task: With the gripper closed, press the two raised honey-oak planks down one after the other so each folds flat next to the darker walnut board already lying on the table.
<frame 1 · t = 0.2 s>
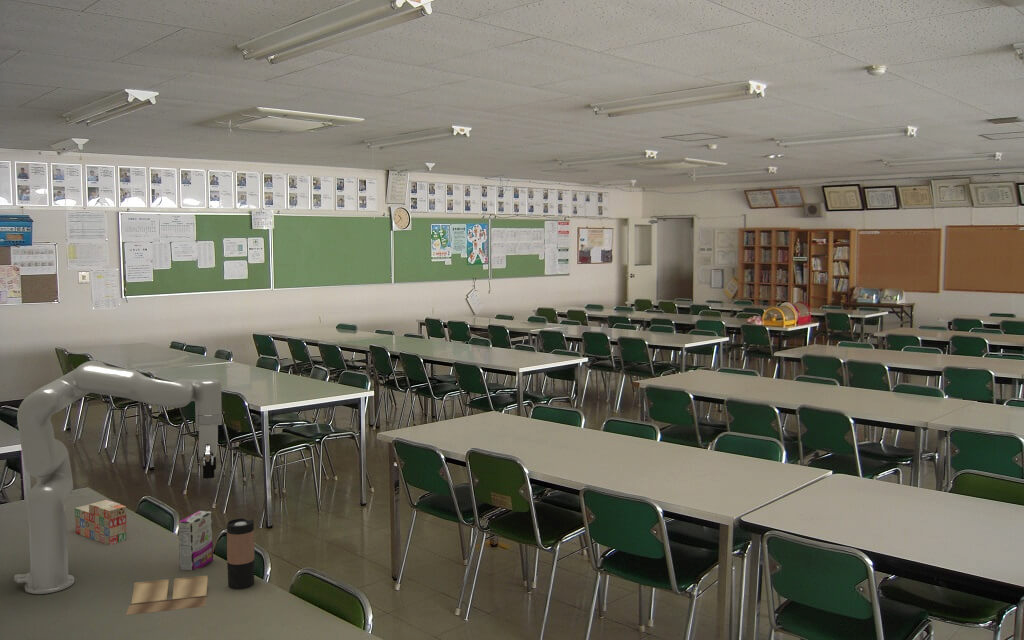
hand: (209, 473, 242), 31 cm above the table, tool pointing down, fingers open, 9 cm apart
plank b: (190, 588, 225), point 2 cm above the table, hinge at 30.0°
candy bar box: (196, 567, 247), on the table
stack of blocks: (100, 537, 273), on the table
travel mug: (241, 588, 231), on the table
laid board: (167, 609, 217), on the table
plank a: (150, 592, 222), point 2 cm above the table, hinge at 30.0°
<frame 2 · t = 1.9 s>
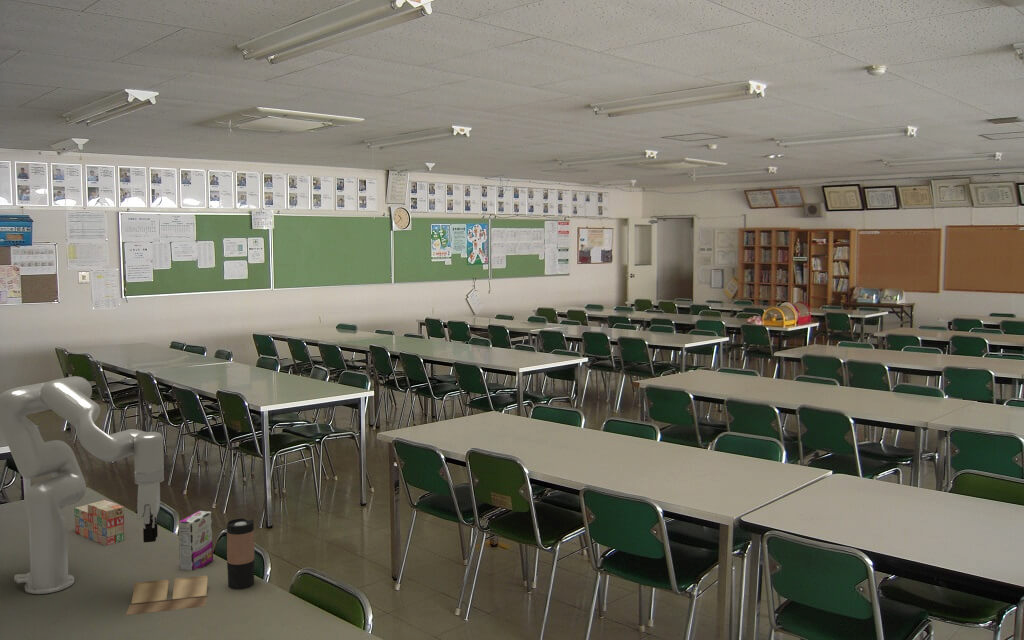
hand: (150, 539, 223), 17 cm above the table, tool pointing down, fingers closed
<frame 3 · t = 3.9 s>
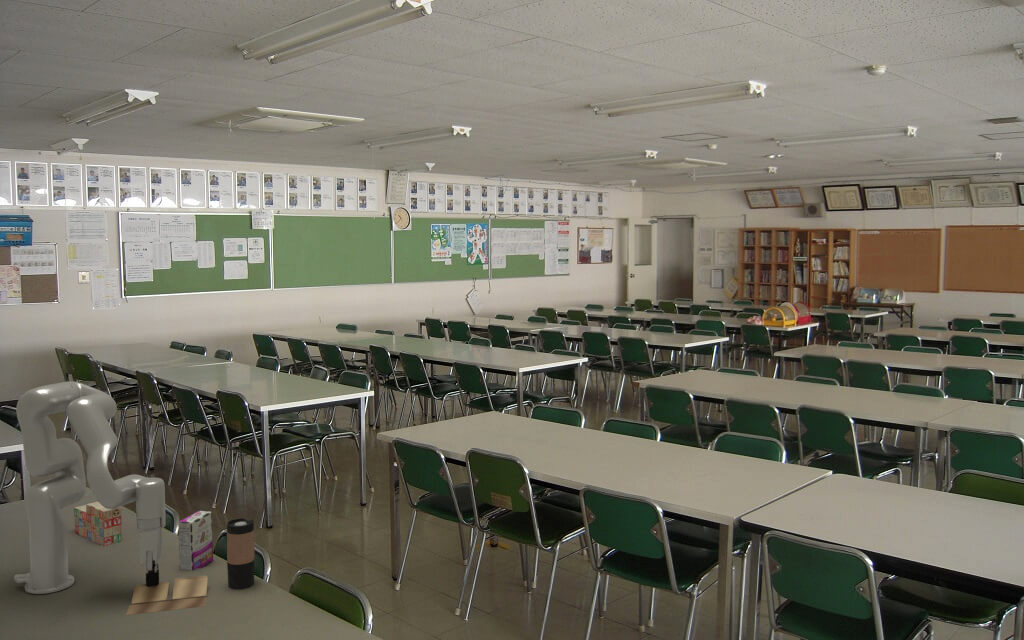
hand: (152, 584, 224), 4 cm above the table, tool pointing down, fingers closed
plank a: (150, 594, 222), point 2 cm above the table, hinge at 21.0°, touching gripper
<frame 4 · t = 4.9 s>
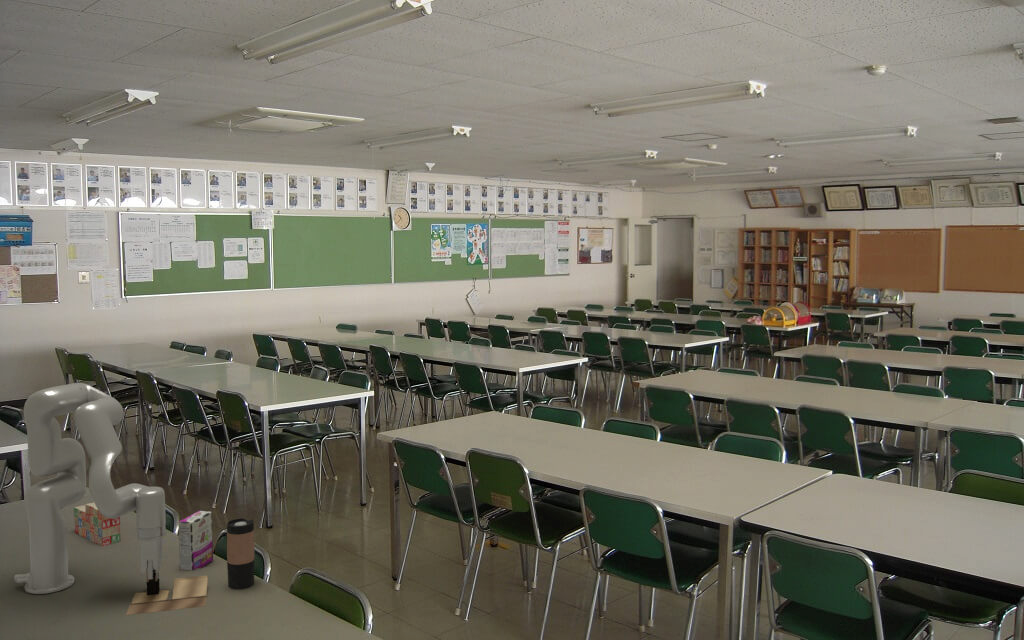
hand: (153, 593, 224), 1 cm above the table, tool pointing down, fingers closed
plank a: (150, 598, 222), point 1 cm above the table, hinge at 0.0°, touching gripper
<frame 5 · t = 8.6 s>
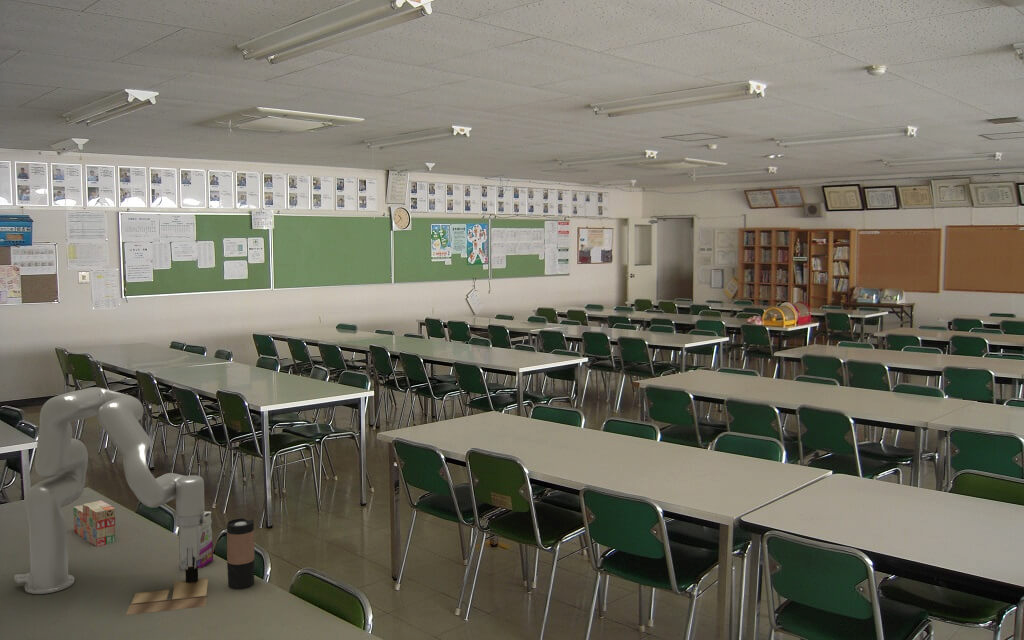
hand: (192, 580, 227), 4 cm above the table, tool pointing down, fingers closed
plank b: (190, 590, 225), point 2 cm above the table, hinge at 19.9°, touching gripper
plank a: (150, 598, 222), point 1 cm above the table, hinge at -0.4°
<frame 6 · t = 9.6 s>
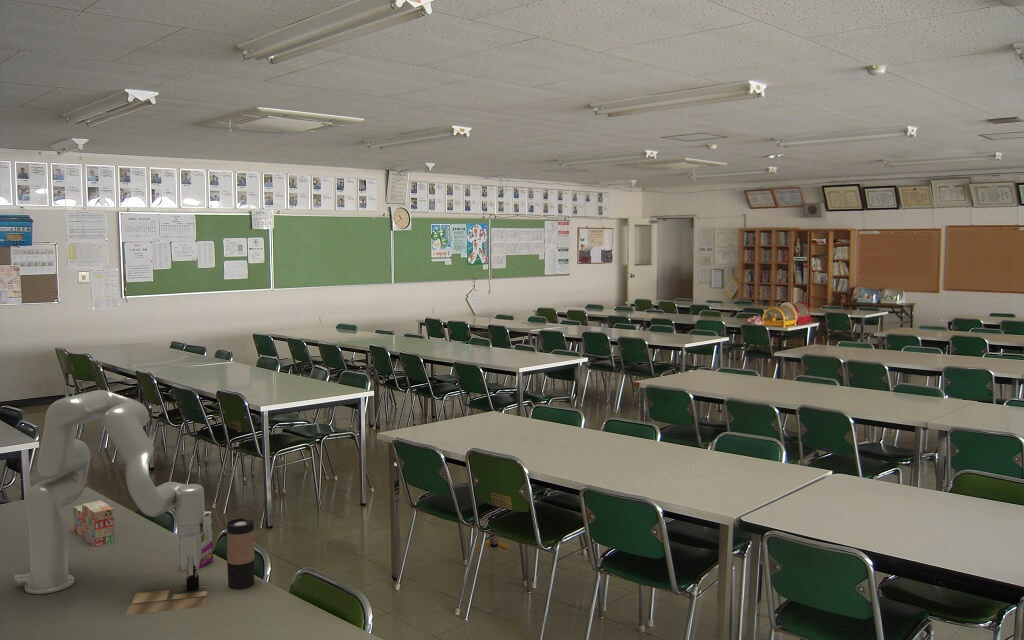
hand: (192, 589, 227), 1 cm above the table, tool pointing down, fingers closed
plank b: (190, 594, 225), point 1 cm above the table, hinge at -0.9°, touching gripper
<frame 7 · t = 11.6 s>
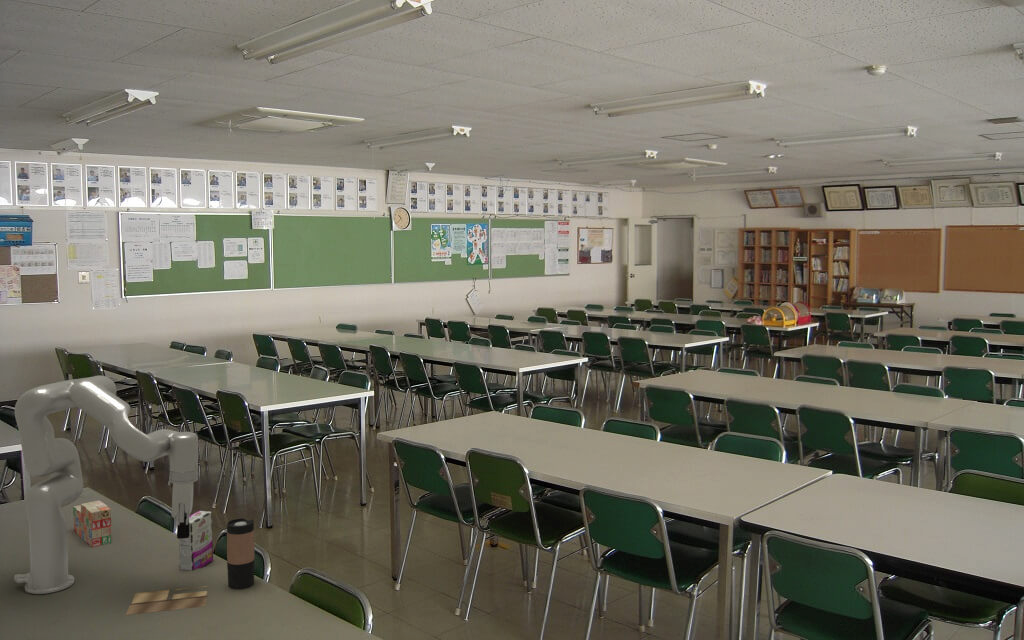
hand: (183, 537, 227), 16 cm above the table, tool pointing down, fingers closed
plank b: (190, 594, 225), point 1 cm above the table, hinge at -0.9°
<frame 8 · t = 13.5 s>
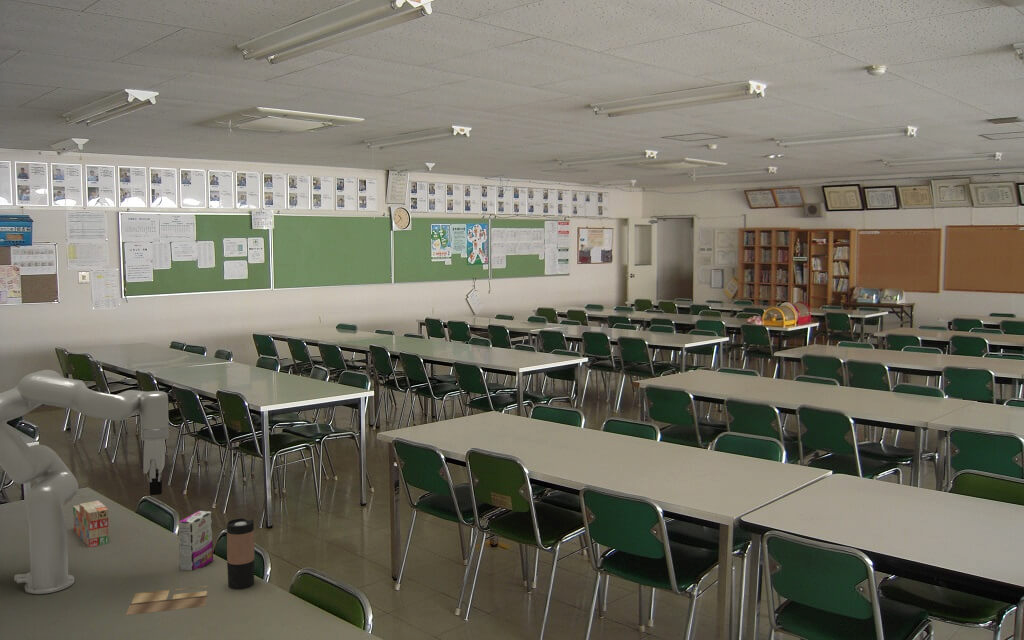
hand: (156, 494, 233), 27 cm above the table, tool pointing down, fingers closed
at the end: plank a at +0° (first picture: +30°); plank b at -1° (first picture: +30°) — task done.
